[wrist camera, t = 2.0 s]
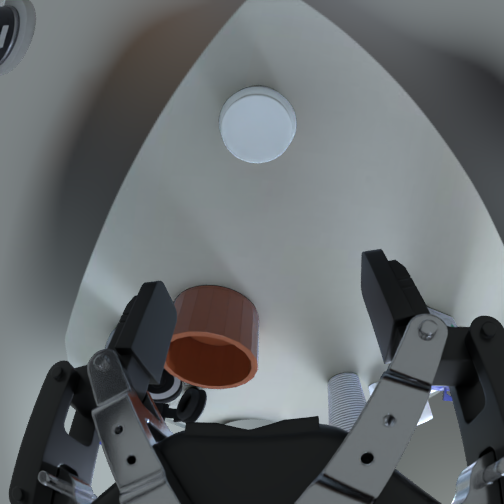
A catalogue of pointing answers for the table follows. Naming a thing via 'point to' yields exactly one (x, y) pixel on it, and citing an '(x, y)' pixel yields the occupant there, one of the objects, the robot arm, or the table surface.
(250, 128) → the pill bottle
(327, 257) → the table surface
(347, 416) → the cup
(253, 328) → the crock
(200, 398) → the headphones
